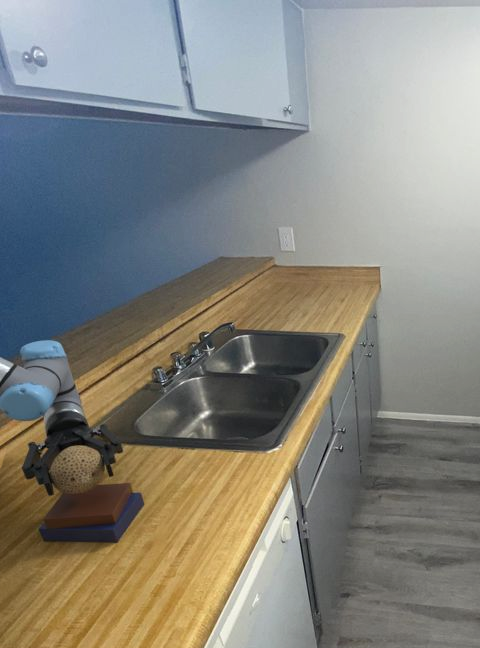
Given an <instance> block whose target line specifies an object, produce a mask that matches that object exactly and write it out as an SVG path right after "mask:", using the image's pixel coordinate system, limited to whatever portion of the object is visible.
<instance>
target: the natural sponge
mask: <svg viewBox="0 0 480 648" xmlns="http://www.w3.org/2000/svg"><path fill="white" fill-rule="evenodd" d="M105 471H106V466H105V463H104V459H103V457H102V455H101V454H100V453H99V452H98V451H97V450H95V449H93V448H90V447H87V446H71V447H68V448H66V449H64V450H63V451H62V452H61V453H60V454H59V455H58V456H57V457H56V458H55V460H54V461H53V463H52V465H51V468H50V471H49V473H50V479H51V482H52V486H53V488H55V489H56V490H57V491H58V492H60V493H61V494H62V493H65V494H79V493H86V492H89V491H90V490H92V489H93V488H94V487H95V486H96V485H99V483H100V482H101V481H102V479H103V477H104V475H105Z"/></svg>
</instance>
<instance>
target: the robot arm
mask: <svg viewBox="0 0 480 648" xmlns="http://www.w3.org/2000/svg"><path fill="white" fill-rule="evenodd" d="M19 351H20V356H21V361H22V363H23V364H24V365H23V366H20V365H18V364H16V363H14V362H12V361H9V360H7V359H5V358H3V357H2V356H0V410H1V411H2V412H3V414H5V416H7V417H8V418H10V419H12V420H14V421H18V422H32V421H36V420H38V419H40V418H42V417H43V424H44V431H45V435H46V438H45V439H44V441H42V442H39V443H36V442H35V441H30V442H27V446H28V451H27V453H26V456H25V459H24V461H23V464H22V466H21V470H22V472H23V475H24V477H25V479H26V480H31V479H33V478H35V480H36V482H37V485H39V486H41V485H42V486H43V485H44V487H45V490H46V492H47V493H46V494H47V495H48V497H50V496H54V495H55V491H54V485H53V484H52V482H51V479H50V468H51V465H52V463H53V461H54V460H55V458H56V457H57V456H58V455H59V454H60V453H61V452H62V451H63V450H64V449H66V448H68V447H71V446H87V447H90V448H93V449H95V450H97V451H98V452H99V453H100V454H101V455H102V457H103V459H104V464H105V470H106V471H107V474H108V477H109V478H112V477H114V476H115V475H114V472H113V469H112V466H111V465H113V464H116V463H117V459H116V456H115V454H117V455H118V454H122V453H124V449H123V445H122V442H121V440H120V439H119V438H118V437H116V435H114V434H113V433H112V432H111V431H110V430H109V429H108V425H107V424H106V423H102V424H100V425H99V427H98V428H94V429H93V428H92V427H90V426H89V422H88V420H87V416H86V413H85V411H84V408H83V404H82V400H81V399H82V398H81V397H80V394H79V392H78V389H77V386H76V383H75V380H74V377H73V373H72V370H71V367H70V364H69V361H68V355H67V354H66V352H65V350H64V347H63V345H62V344H61V343H60V342H59V341H57V340H50V339H49V340H47V339H46V340H45V339H44V340H38V341H32V342H30V343H27V344H24V345H23V346H22V347H21V348H20V350H19ZM95 436H97V437H99V439H98V438H96V437H95ZM102 440H103V441H102ZM45 449H46V451H45Z"/></svg>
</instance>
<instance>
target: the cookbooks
mask: <svg viewBox="0 0 480 648" xmlns="http://www.w3.org/2000/svg"><path fill="white" fill-rule="evenodd" d="M132 487H133V486H132V485H131V482H122V483H107V484H106V483H105V484H97V485H96V486H95V487H94V488H93V489H92V490H90V491H89V492H86V493H79V494H65V493H62V492H61V494H60V496H59V497H58V499H56V501H55V503H54V504H53V505H52V506H51V508H50V509H49V511H48V512H47V513H46V515H45V516H44V517H43V523H42V524H41V525H40V526H39V527H38V531H39V534H40V536H41V539H42V541H43V542H62V543H63V542H67V543H68V542H69V543H73V542H74V543H78V542H79V543H118V542H119V541H120V539H122V538H123V535H125V533H126V532H127V530H128V528H130V525H131V524H132V523H133V521H134V520H135V519H136V517H137V516H138V514H139V513H140V512H141V510H142V509H143V507H144V505H145V501H144V498H143V494H142V492H134V491H133V488H132Z"/></svg>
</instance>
